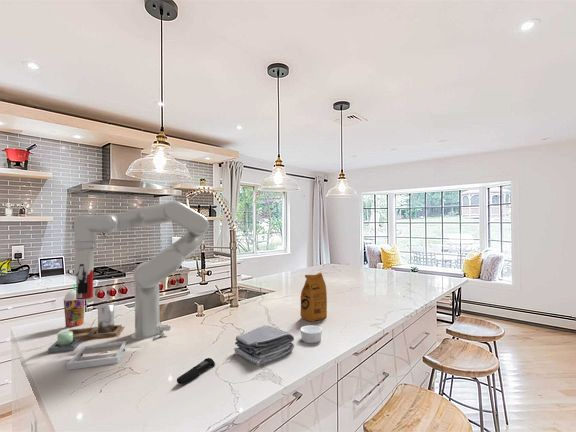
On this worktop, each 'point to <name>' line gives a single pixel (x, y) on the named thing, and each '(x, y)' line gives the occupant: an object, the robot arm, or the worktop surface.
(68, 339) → the button
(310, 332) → the ramekin
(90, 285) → the soda can
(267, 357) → the towel
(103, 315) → the steel billet
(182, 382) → the electric trimmer
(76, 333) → the wooden compartment tray
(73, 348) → the button box
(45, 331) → the worktop surface
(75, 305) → the smoothie
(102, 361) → the white square frame
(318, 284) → the coffee package
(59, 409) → the worktop surface
